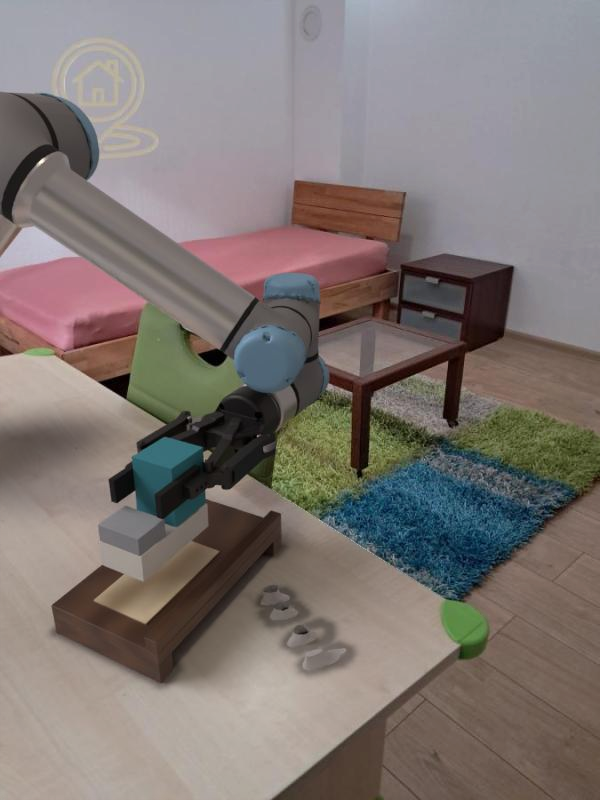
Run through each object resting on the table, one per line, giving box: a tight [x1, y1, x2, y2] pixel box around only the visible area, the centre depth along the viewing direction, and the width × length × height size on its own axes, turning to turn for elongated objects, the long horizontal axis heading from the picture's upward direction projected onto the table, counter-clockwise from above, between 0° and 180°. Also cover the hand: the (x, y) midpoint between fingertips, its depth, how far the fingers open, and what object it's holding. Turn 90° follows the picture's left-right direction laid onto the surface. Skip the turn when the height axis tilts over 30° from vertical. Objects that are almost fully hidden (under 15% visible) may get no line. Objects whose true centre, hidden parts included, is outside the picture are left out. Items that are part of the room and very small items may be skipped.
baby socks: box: [260, 584, 347, 672], centre depth 68 cm, size 12×5×3 cm, turn 29°
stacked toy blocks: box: [97, 437, 208, 582], centre depth 66 cm, size 11×6×10 cm, turn 152°
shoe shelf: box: [50, 498, 282, 684], centre depth 73 cm, size 14×24×6 cm, turn 152°
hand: (135, 498), depth 63 cm, fingers closed on stacked toy blocks, 5 cm apart
